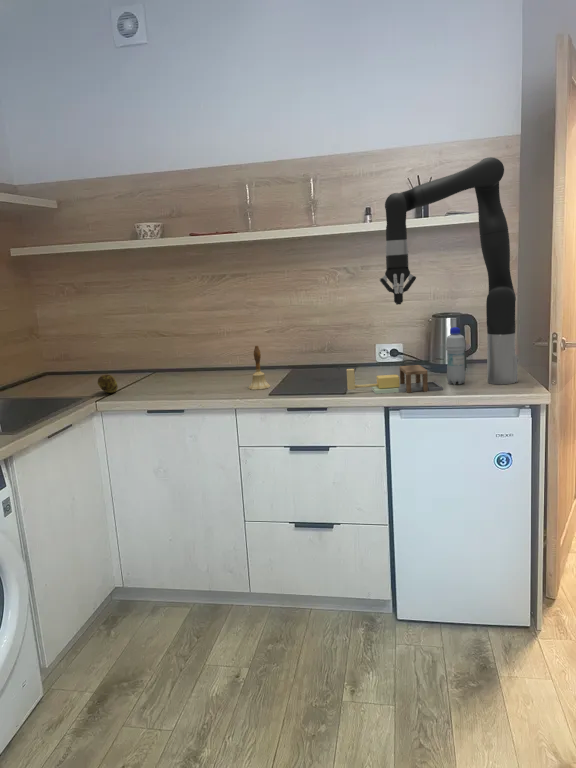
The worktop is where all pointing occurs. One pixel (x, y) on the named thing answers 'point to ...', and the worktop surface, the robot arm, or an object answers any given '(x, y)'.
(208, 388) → the worktop surface
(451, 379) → the bottle
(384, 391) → the track
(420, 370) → the small wooden table
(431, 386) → the pit
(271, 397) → the worktop surface
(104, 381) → the potato
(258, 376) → the hand bell
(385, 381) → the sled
